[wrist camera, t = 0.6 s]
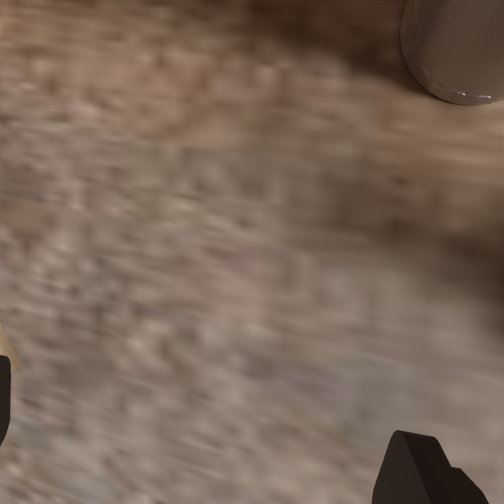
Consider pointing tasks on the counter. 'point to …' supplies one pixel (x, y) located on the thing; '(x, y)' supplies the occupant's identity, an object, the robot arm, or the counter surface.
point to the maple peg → (8, 349)
